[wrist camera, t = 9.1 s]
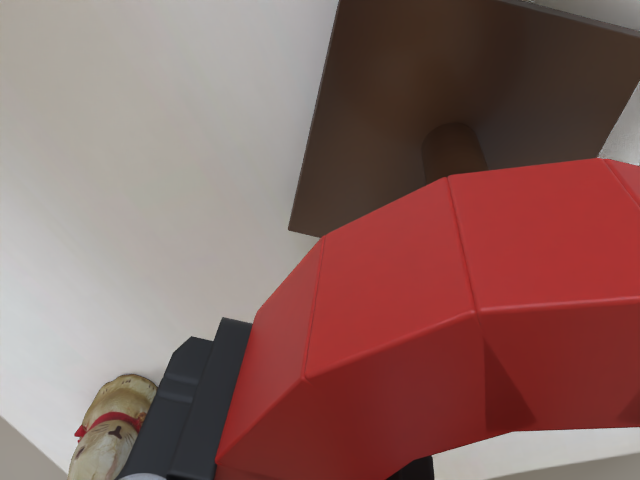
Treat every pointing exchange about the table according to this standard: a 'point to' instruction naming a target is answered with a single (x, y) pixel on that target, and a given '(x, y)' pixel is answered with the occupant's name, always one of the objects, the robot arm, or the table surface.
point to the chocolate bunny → (111, 428)
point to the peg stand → (454, 98)
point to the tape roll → (447, 326)
